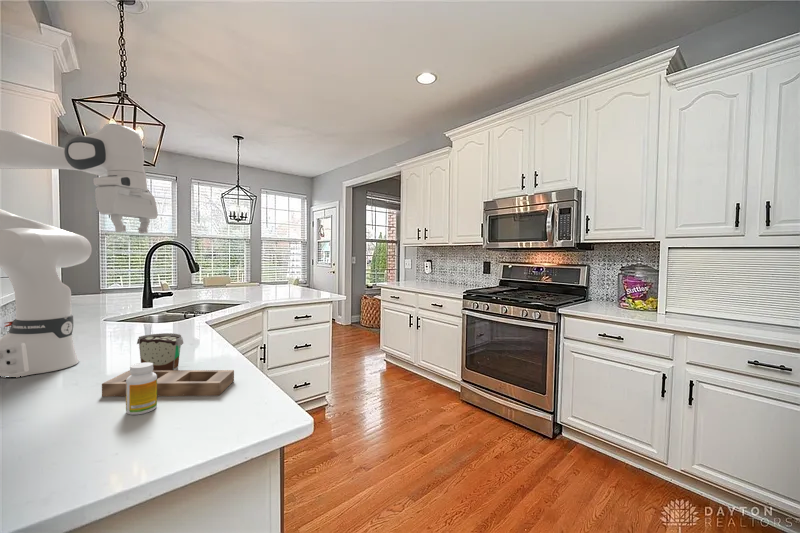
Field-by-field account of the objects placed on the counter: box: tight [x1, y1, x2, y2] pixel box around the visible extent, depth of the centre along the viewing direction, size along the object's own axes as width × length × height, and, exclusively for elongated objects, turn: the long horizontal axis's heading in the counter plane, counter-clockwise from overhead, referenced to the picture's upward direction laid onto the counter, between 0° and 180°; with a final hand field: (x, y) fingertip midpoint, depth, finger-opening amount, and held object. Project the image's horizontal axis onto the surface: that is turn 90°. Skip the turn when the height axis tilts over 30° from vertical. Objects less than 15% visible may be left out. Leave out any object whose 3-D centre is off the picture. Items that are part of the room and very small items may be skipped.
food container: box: [136, 332, 184, 370], centre depth 100 cm, size 12×6×10 cm, turn 84°
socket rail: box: [101, 369, 235, 398], centre depth 88 cm, size 26×9×3 cm, turn 96°
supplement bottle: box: [125, 362, 158, 416], centre depth 75 cm, size 5×5×10 cm
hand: (132, 232), depth 101 cm, fingers open, 8 cm apart
